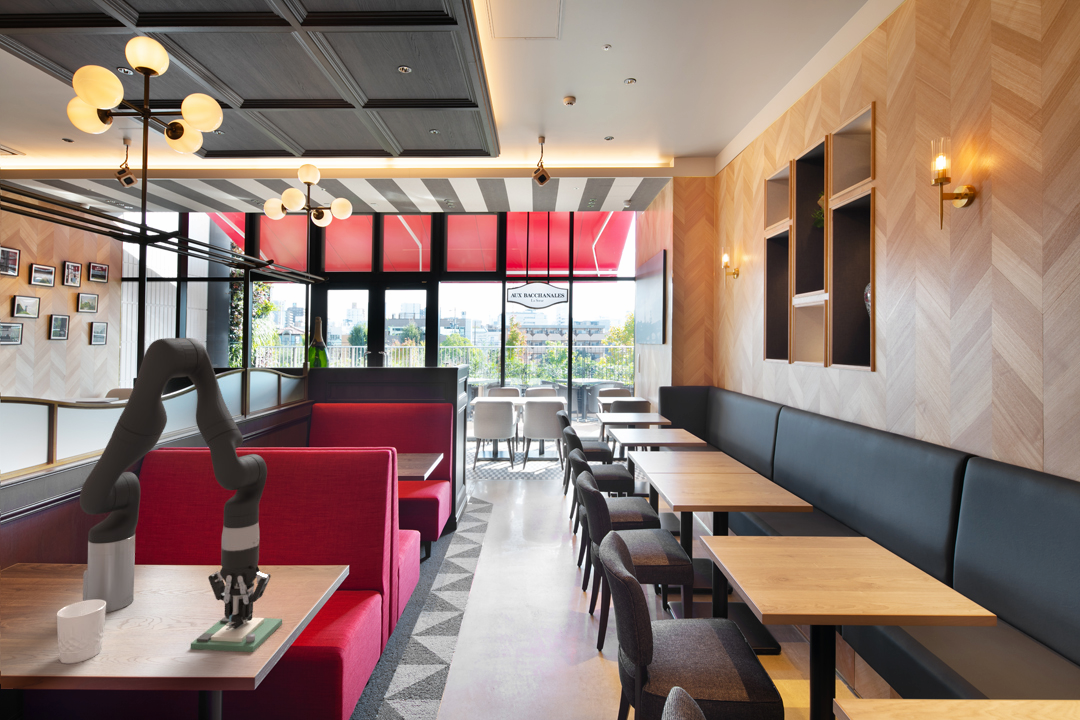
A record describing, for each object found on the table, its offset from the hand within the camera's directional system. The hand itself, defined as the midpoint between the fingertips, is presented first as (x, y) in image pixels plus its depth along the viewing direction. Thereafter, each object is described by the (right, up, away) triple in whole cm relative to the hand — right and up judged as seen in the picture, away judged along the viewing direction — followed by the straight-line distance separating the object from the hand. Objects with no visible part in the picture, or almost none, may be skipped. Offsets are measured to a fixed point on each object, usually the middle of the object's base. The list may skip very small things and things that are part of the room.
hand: (238, 617), depth 120 cm
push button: (0, -2, 0) cm, 2 cm away
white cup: (-28, -4, -9) cm, 30 cm away
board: (0, -4, 0) cm, 4 cm away
